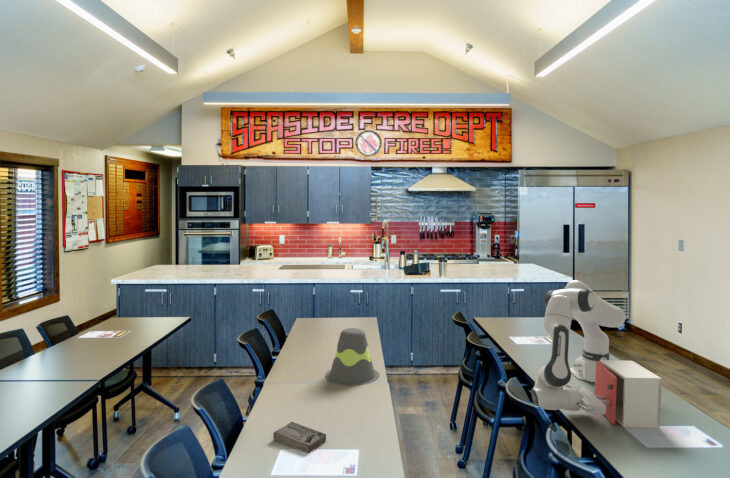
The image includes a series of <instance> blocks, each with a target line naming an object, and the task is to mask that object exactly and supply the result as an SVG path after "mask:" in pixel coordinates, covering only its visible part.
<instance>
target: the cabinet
mask: <svg viewBox="0 0 730 478" xmlns="http://www.w3.org/2000/svg"><path fill="white" fill-rule="evenodd" d="M600 363H601V364H602V365H603V366H604V367H605V368H607V369H608V370H609V371H610V372H611V373H612V374H613V375H614V376H615V377H616V378H617V388H616V415H615V422H617V423H618V424H620V426H622V427H623V428H645V429H646V428H652V429H654V428H655V429H659V428H660V424H661V404H662V402H661V401H662V377H660V376H659V375H657V374H655V373H654V372H652V371H650V370H648V369H647V368H646V367H643V366H641V365H640V364H638V363H637V362H635V361H633V360H616V359H615V360H613V359H611V360H610V359H609V360H600Z"/></svg>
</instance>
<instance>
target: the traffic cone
mask: <svg viewBox="0 0 730 478" xmlns="http://www.w3.org/2000/svg"><path fill="white" fill-rule="evenodd" d="M336 347H337V348H336V351H335V355H334V359H333V361H332V364H331V367H330V368H331V369H330V370H328V371H327V372H326V373H325V378H326V379H327V381H329V382H330V383H333V384H336V385H341V386H362V385H368V384H371V383H373V382H375V381H377V380H378V379H379V378H380V373H379V371H377V370H375V368H374V364H373V360H372V357H371V354H370V350H369V343H368V340H367V336H366V333H365V331H364V330H363V329H361V328H357V327H356V328H355V327H352V328H344V329H343V330H342V331H341V332H340V334H339V338H338V342H337V345H336Z"/></svg>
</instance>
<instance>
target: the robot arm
mask: <svg viewBox="0 0 730 478" xmlns="http://www.w3.org/2000/svg"><path fill="white" fill-rule="evenodd" d="M543 298H544V299H543V300H544V306H545V308H546V309H545V312H544V319H543V331H544V333H546V335H547V336H548V337H550V338H551V354H550V356H551V357H550V359H549V361H548V362H547V364H545V365H544V366H541V367H540V368H539V369H538V371H537V372H536V373H537V374H536V379H535V380H536V381H535V384H534V386H533V388H531V399H532V402H533V404H534V405H535V406H536V407H537V406H539V407H542V408H543V410H549V411H550V410H551V411H557V410H563V411H570V412H571V411H572V412H573V411H575V412H576V411H577V412H579V411H580V410H583V411H584V412H585V413H588V414H594V415H604V414H605V413H606V405H609V404H610V401H609V400H608V399H606V397H604V396H598V395H595V393H593V392H592V391H590V389H588V388H587V387H585V386H580V385H571V384H568V383H569V382H570V381H571V379H572V375H573V376H574V377H576V378H577V380H581V381H587V382H589V383H590V382H591V383H595V377H596V361H599V362H600V360H610V351H609V349H610V348H609V346H610V339H609V336H608V335H607V334H606V333H605V332H604V331H602V329H601V328H600V326H601V327H607V328H620V327H622V326H623V325H624V324H625V322H626V313H625V310H623V309H622V308H621V307H618V306H616V305H614V304H612V303H610V302H608V301H607V300H604V299H603V298H601V297H600V296H598V295H597V294H596V293H595V291H593V290H592V288H591V287H590V286H589V285H587V284H586V283H585V282H583V281H582V280H577V279H574V280H571V281H569V282H567V284H566V285H565V287H564V288H561V289H551V290H548V291H547V292H546V293H545V296H544V297H543ZM572 317H573V318H574V319H575V320H576V321H577V322H578V324H579V325H580V327H581V329H582V331H583V336H584V349H581V352H582V354H581V356H579V357H577V358H576V359H574V362H573V366H572V367H570V365H569V342H570V331H571V325H572ZM564 386H565V387H564ZM537 404H538V405H537ZM539 407H538V408H539ZM542 408H541V409H542Z"/></svg>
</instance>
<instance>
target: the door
mask: <svg viewBox="0 0 730 478" xmlns="http://www.w3.org/2000/svg"><path fill="white" fill-rule="evenodd" d="M616 388H617V378H616V377H615V376H614V375H613V374H612V373H611V372H610V371H609V370H608V369H607V368H605V367H604V366H603V365H602V364H601V363H600V362H599V361H596V377H595V382H594V395H598V396H604V397H606V399H608V400H609V401H610V404H609V405H606V413H605V414H603V415H604V417H606V418H607V420H608V421H609V422H610V423H611V424H612V425H616V420H615V415H616Z"/></svg>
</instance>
